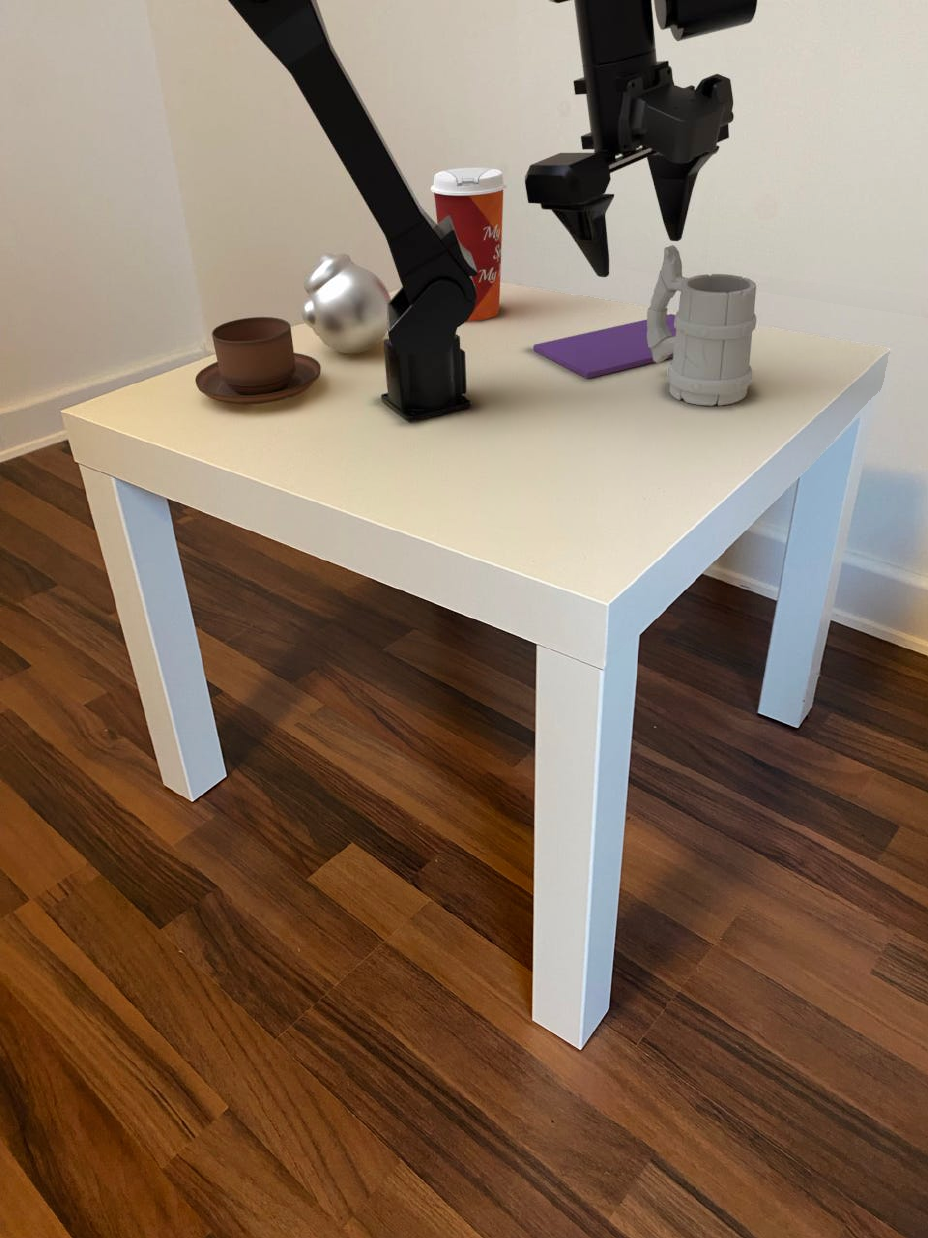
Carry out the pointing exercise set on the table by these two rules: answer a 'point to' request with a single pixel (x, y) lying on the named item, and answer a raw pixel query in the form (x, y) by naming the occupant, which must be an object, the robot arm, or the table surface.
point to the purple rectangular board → (604, 349)
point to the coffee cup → (475, 226)
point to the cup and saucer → (256, 363)
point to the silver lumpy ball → (345, 304)
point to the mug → (703, 333)
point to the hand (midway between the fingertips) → (640, 257)
